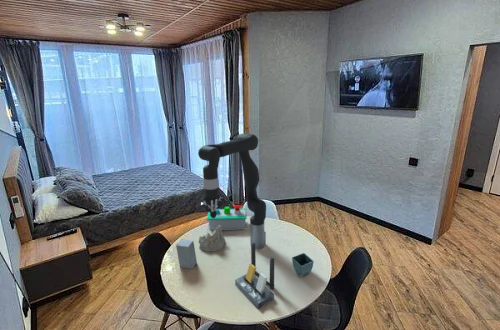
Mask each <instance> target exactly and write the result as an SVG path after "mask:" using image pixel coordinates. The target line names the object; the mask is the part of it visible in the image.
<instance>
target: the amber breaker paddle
mask: <svg viewBox="0 0 500 330" xmlns="http://www.w3.org/2000/svg"><path fill="white" fill-rule="evenodd" d="M255 271H257V267H255V266H254V265H253V264H251V263H249V265H248V268H247V272H246V274H245V275H246V279H247V280H248V281H249V282H251V281H253V278H254V276H255V275H256V274H255Z"/></svg>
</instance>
